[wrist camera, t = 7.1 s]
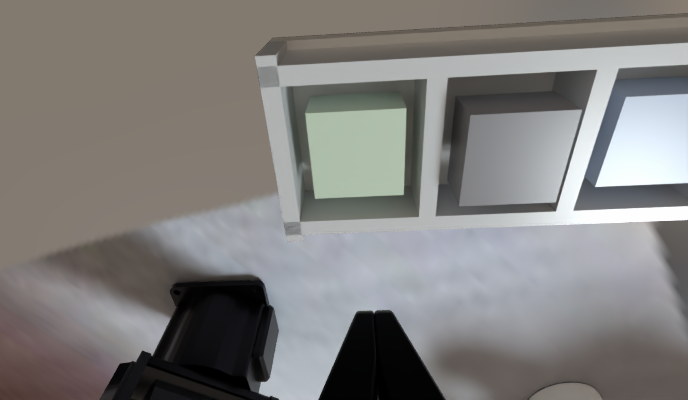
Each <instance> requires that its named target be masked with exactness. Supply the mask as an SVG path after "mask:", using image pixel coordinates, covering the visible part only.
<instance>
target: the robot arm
mask: <svg viewBox="0 0 688 400" xmlns="http://www.w3.org/2000/svg"><path fill="white" fill-rule="evenodd" d="M255 287H257V288H255ZM178 290H179V291H178ZM170 294H171V296H172V298H173V301H174V303H175V306H176V309H175V311H174V313H173V315H172V317H171V319H170V321H169V323H168V325H167V327H166V329H165V332H164V334H163V336H162V338H161V340H160V342H159V344H158V346H157V348H156V350H155V352H154V354H153V356H151V354H150V353H148V352H145V351H142V352H141V354H140V356H139V357H138V359H137V361H136V362H134V361H132V362H129V363H121V364H119V366H118V368H117V370H116V372H115V373H114V375H113V377H112V379H111V380H110V382H109V384H108V386H107V387H106V389H105V391H104V393H103V394H102V396H101V398H100V400H279V399H278V398H275V397H272V396H270V397H268V396H265V395H262V394H259V388H260V383H261V382H266V381H267V380H268V379H269V378H270V374H271V369H272V363H273V358H274V353H275V347H276V342H277V337H278V331H279V329H278V325H277V320H276V316H275V311H274V308H273V307H272V306H271V305H269V301H268V297H267V293H266V288H265V285H264V283H263V282H261V281H257V280H255V281H226V282H197V283H176V284H174V285H173V286H172V288H171V290H170ZM319 400H446V399H445V398H444V396H443V394H442V393H441V391H440V389H439V388H438V386H437V384H436V383H435V381H434V379H433V378H432V376H431V374H430V373H429V371H428V370H427V368H426V366H425V365H424V363H423V361H422V360H421V358H420V356H419V355H418V353H417V351H416V350H415V348H414V346H413V345H412V343H411V342H410V340H409V338H408V337H407V335H406V333H405V332H404V330H403V328H402V327H401V325H400V323H399V322H398V320H397V318H396V317H395V315H394V314H393V312H392V311H390V310H377V311H375V313H374V312H373V311H358V312H356V314H355V316H354V318H353V321H352V323H351V325H350V328H349V330H348V332H347V335H346V337H345V339H344V342H343V344H342V346H341V348H340V351H339V353H338V355H337V358H336V360H335V362H334V365H333V367H332V369H331V372H330V374H329V376H328V379H327V381H326V383H325V386H324V388H323V390H322V393H321V395H320V397H319Z"/></svg>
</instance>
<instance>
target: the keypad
mask: <svg viewBox="0 0 688 400" xmlns="http://www.w3.org/2000/svg"><path fill="white" fill-rule="evenodd" d="M255 61H256V66H257V72H258V78H259V84H260V89H261V95H262V101H263V106H264V112H265V118H266V124H267V129H268V135H269V141H270V147H271V153H272V158H273V164H274V170H275V175H276V181H277V187H278V193H279V199H280V204H281V210H282V216H283V221H284V227H285V233H286V239H287V242H293V241H303V236H304V235H310V234H336V233H362V232H387V231H413V230H438V229H464V228H490V227H515V226H541V225H566V224H592V223H618V222H643V221H669V220H688V183H676V184H652V185H629V186H605V187H595V186H594V185H592V184H591V183H590V182H589V181H588V180H587V179H586V178H585V177H584V175H585V172H586V169H587V166H588V163H589V160H590V157H591V154H592V151H593V147H594V144H595V141H596V138H597V135H598V132H599V129H600V126H601V123H602V119H603V116H604V113H605V110H606V107H607V104H608V101H609V98H610V94H611V91H612V88H613V85H614V82H615V80H621V79H639V78H658V77H677V76H688V13H683V14H666V15H650V16H632V17H616V18H600V19H582V20H566V21H549V22H531V23H516V24H498V25H482V26H464V27H448V28H431V29H414V30H399V31H382V32H381V31H380V32H364V33H347V34H330V35H313V36H296V37H279V38H272V39H271V40H270V41H269V42H268V43H267V44H266V45H265V46H264V47H263V48H262V49H261V50H260V51H259V52H258V53H257V54H256V56H255ZM394 91H400V93H401V95H402V98H403V101H404V103H405V106H406V108H407V109H406V140H405V171H404V195H391V196H367V197H344V198H320V199H315V194H314V186H313V177H312V168H311V160H310V151H309V142H308V134H307V125H306V116H305V112H306V109H307V105H308V102H309V98H310V96H319V95H338V94H356V93H375V92H394ZM544 91H554V92H556V93H557V94H559V95H561V96H562V97H564V98H565V99H567V100H568V101H570V102H571V103H573V104H575V105H576V106H578V107H579V108H581V109H582V113H581V116H580V120H579V123H578V127H577V130H576V134H575V137H574V140H573V144H572V147H571V151H570V154H569V158H568V161H567V165H566V168H565V172H564V175H563V179H562V182H561V186H560V189H559V193H558V196H557V200H556V202H553V203H529V204H505V205H481V206H459V205H458V203H457V201H456V198H455V196H454V194H453V192H452V190H451V187H450V185H449V183H448V181H447V176H448V167H449V157H450V147H451V137H452V127H453V118H454V108H455V98H456V96H468V95H487V94H506V93H525V92H544Z"/></svg>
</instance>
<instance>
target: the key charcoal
mask: <svg viewBox="0 0 688 400" xmlns="http://www.w3.org/2000/svg"><path fill="white" fill-rule="evenodd" d="M581 113H582V109H581V108H579V107H578V106H576V105H575V104H573V103H571V102H570V101H568V100H567V99H565V98H564V97H562V96H561V95H559V94H557V93H556V92H554V91H544V92H525V93H506V94H487V95H468V96H456V98H455V108H454V118H453V127H452V137H451V147H450V157H449V167H448V176H447V181H448V183H449V185H450V187H451V190H452V192H453V194H454V196H455V198H456V201H457V203H458V205H459V206H481V205H505V204H529V203H553V202H556V200H557V196H558V193H559V189H560V186H561V182H562V179H563V175H564V172H565V168H566V165H567V161H568V158H569V154H570V151H571V147H572V144H573V140H574V137H575V134H576V130H577V127H578V123H579V120H580V116H581Z"/></svg>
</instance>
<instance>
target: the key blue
mask: <svg viewBox="0 0 688 400" xmlns="http://www.w3.org/2000/svg"><path fill="white" fill-rule="evenodd" d="M584 177H585V178H586V179H587V180H588V181H589V182H590V183H591V184H592V185H594V186H595V187H605V186H629V185H652V184H676V183H688V76H677V77H658V78H639V79H621V80H615V82H614V85H613V88H612V91H611V94H610V98H609V101H608V104H607V107H606V110H605V113H604V116H603V119H602V123H601V126H600V129H599V132H598V135H597V138H596V141H595V144H594V147H593V151H592V154H591V157H590V160H589V163H588V166H587V169H586V172H585V175H584Z"/></svg>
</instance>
